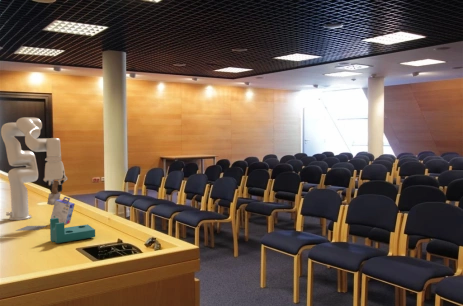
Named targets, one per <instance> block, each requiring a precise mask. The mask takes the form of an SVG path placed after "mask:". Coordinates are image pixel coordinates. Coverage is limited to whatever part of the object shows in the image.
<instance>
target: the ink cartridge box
mask: <svg viewBox="0 0 463 306" xmlns="http://www.w3.org/2000/svg"><path fill="white" fill-rule="evenodd" d="M70 200H71V198H70V197H67V196H64V197H63V198H62V199H61V198H60V199H58V200H55V203H54V205H53V207H52V211H51V216H50V219H52V218H59V223H62V222H64V225H67V224H70V223H71V220H72V217H73V212H74V207H75V203H73V202H70Z"/></svg>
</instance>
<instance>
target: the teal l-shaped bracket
mask: <svg viewBox="0 0 463 306" xmlns="http://www.w3.org/2000/svg"><path fill="white" fill-rule="evenodd" d="M49 231H50V235H49V237H50V238H49V240H50V241H51V242H52V243H53V242H55V243H56V244H61V243H65V242H67V243H68V242H71V241H72V242H73V241H79V240H84V239H91V238H95V237H96V229H94V228H93V227H92V226H91V225H89V224H80V225H76V226H75V225H74V226H68V227H65V224H64V222H62V223H59V218H52V219H51V218H49Z"/></svg>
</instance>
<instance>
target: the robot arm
mask: <svg viewBox="0 0 463 306" xmlns="http://www.w3.org/2000/svg"><path fill="white" fill-rule="evenodd" d="M42 129H43V122H42V121H41V120H40V118H38V117H28V116H27V117H20V118H18V119H17V120H16V122H7V123H4V124H2V126H1V129H0V134H1V135H0V136H1V138H2V140H3V141H2V142H3V143H4V146H5V150H6V157H7V161H8V165H9V166H11V167H15V168H11V169H10V170H9V171H8V173H7V179H8V181H9V187H10V205H11V211H8V212H6V213H5V216H7V217H8V216H9V217H8V219H9V220H11V221H20V220H28V219H31V218H32V215H31V214H29V212H30V211H29V195H28V194H29V192H28V191H29V190H28V187H27V186H26V185H25V183H33V182H36V181H37V180H38V179H39V169H38V164H37V159H36V155H35V153H41V152H43V153H44V152H46V158H45V159H44V161H46V162H45V164H44V165H45V166H44V177H43V179H42V180H43V181H44V182H45V183H47V184H48V186H49V191H50V193H51V191H52V186H53V181H58V182H59V185H58V192H59V193H61V192H63V184H64V183H65V182H66V181H67V180H68V176H66V172H65V166H64V163H63V161H62V151H61V150H62V149H61V148H62V147H61V139H60V138H57V137H51V138H49V137H48V138H46V137H45V138H39V136H40V135H41V130H42ZM16 137H24V142H25V143H24V144H25V145H26V146H27V148H29V149H30V150H23V149H22V146H21V142H20V141H19V140H18V138H16ZM34 152H35V153H34ZM24 166H25V167H24Z"/></svg>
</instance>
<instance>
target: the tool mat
mask: <svg viewBox="0 0 463 306" xmlns="http://www.w3.org/2000/svg"><path fill="white" fill-rule="evenodd" d="M46 227H47V225H26V226H24V227H20V228H19V229H16V230H15V231H16V232H18V231H23V232H24V231H39V230H41V229H44V228H46Z"/></svg>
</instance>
